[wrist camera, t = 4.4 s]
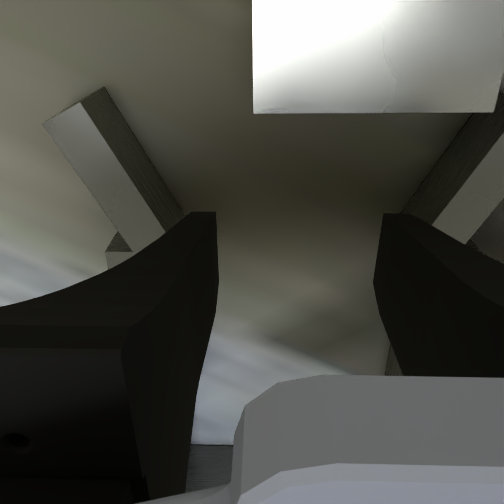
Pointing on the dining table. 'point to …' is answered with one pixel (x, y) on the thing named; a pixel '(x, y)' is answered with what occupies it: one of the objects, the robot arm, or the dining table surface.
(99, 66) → the dining table surface
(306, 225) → the dining table surface
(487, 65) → the block
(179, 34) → the dining table surface
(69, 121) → the socket
